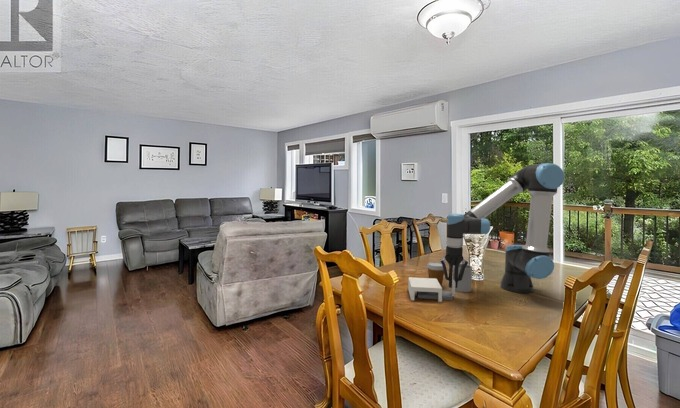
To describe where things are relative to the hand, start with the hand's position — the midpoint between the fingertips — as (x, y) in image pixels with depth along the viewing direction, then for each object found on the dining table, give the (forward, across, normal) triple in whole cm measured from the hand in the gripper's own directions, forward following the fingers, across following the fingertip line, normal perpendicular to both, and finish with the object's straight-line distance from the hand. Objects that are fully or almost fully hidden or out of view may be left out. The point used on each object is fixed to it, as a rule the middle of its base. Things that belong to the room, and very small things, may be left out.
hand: (452, 294), depth 154 cm
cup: (+2, -8, -13) cm, 15 cm away
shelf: (+1, +14, 0) cm, 14 cm away
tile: (+2, +9, 0) cm, 9 cm away
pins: (+1, +18, 0) cm, 18 cm away
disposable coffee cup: (+2, +6, -15) cm, 16 cm away
